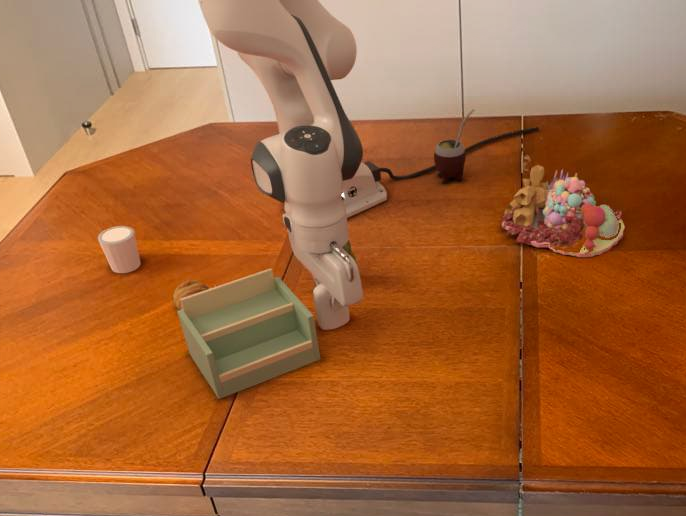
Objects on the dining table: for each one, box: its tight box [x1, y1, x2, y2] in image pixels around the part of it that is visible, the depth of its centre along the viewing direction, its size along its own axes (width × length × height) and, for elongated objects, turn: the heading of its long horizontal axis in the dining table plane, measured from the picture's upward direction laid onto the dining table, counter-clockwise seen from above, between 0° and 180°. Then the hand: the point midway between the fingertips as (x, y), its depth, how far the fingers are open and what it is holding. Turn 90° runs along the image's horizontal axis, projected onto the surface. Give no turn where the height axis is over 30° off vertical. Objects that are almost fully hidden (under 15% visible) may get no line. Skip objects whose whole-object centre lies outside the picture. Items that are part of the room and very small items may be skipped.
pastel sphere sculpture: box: [501, 164, 626, 258], centre depth 162 cm, size 25×24×9 cm
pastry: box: [172, 279, 210, 311], centre depth 146 cm, size 9×7×4 cm
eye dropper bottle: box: [312, 283, 351, 331], centre depth 139 cm, size 4×6×12 cm
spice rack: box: [176, 267, 321, 400], centre depth 132 cm, size 18×14×11 cm
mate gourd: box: [433, 108, 475, 185], centre depth 178 cm, size 8×8×15 cm
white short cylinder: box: [97, 225, 142, 274], centre depth 157 cm, size 7×7×7 cm
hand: (330, 301), depth 139 cm, fingers closed on eye dropper bottle, 3 cm apart
